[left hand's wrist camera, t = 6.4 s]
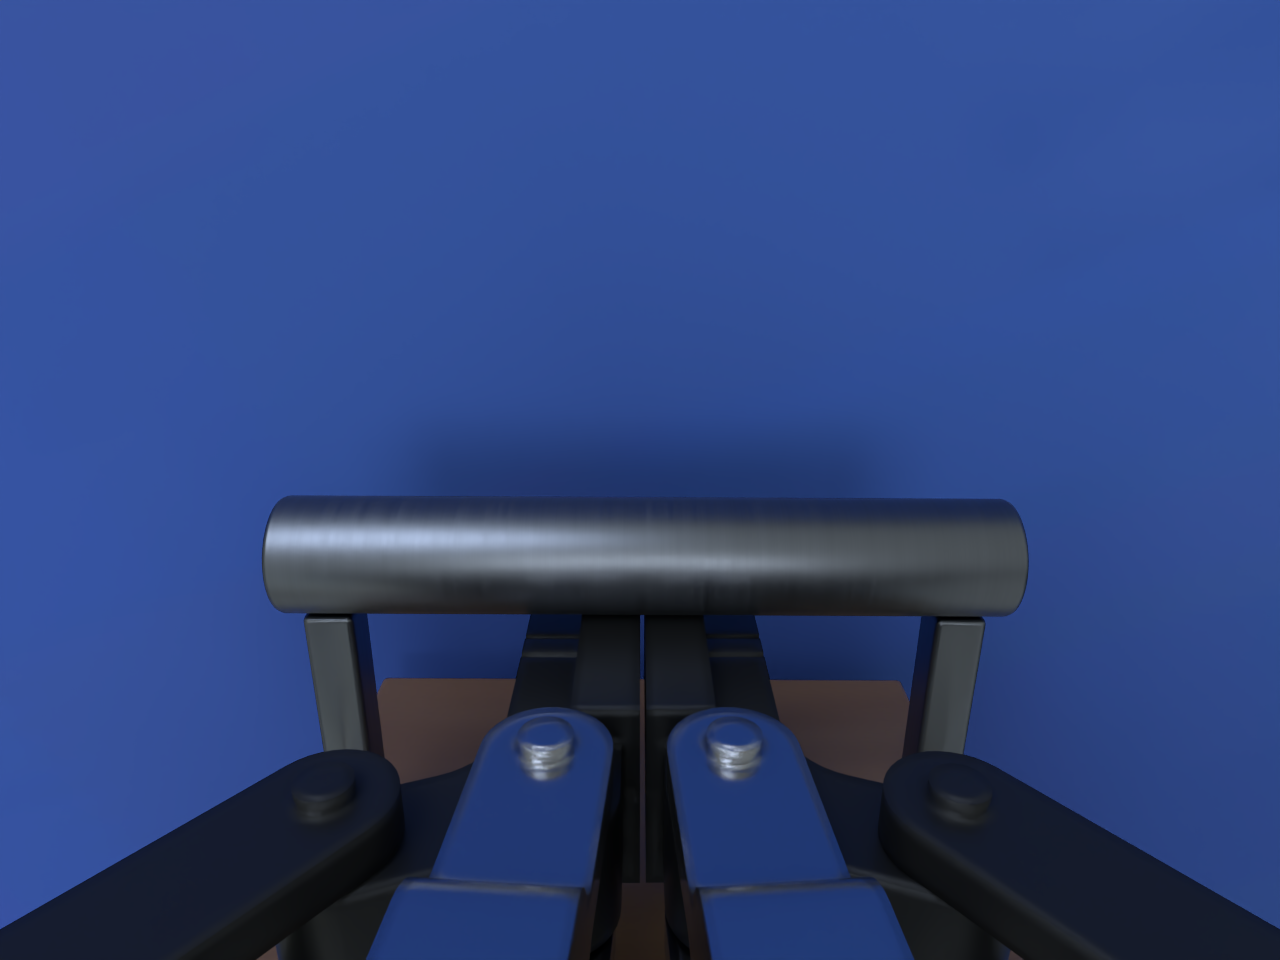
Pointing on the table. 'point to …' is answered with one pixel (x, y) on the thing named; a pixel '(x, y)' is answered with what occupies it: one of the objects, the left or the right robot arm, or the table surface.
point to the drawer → (644, 611)
